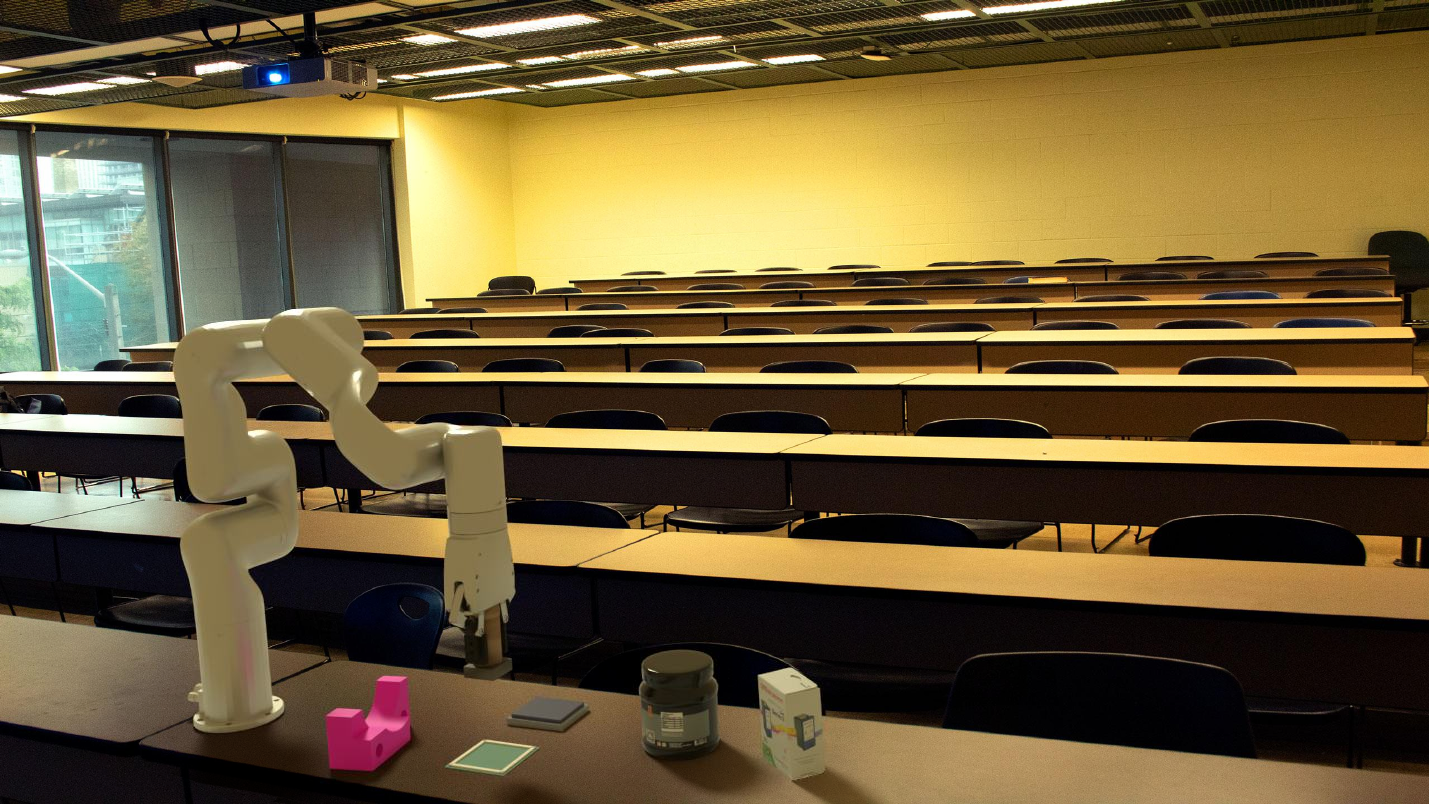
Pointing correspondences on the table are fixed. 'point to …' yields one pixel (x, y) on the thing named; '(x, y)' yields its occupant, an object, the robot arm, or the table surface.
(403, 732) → the toy block
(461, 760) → the mat
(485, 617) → the stamp
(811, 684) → the ink box
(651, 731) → the supplement container
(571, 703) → the ink pad
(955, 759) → the table surface
